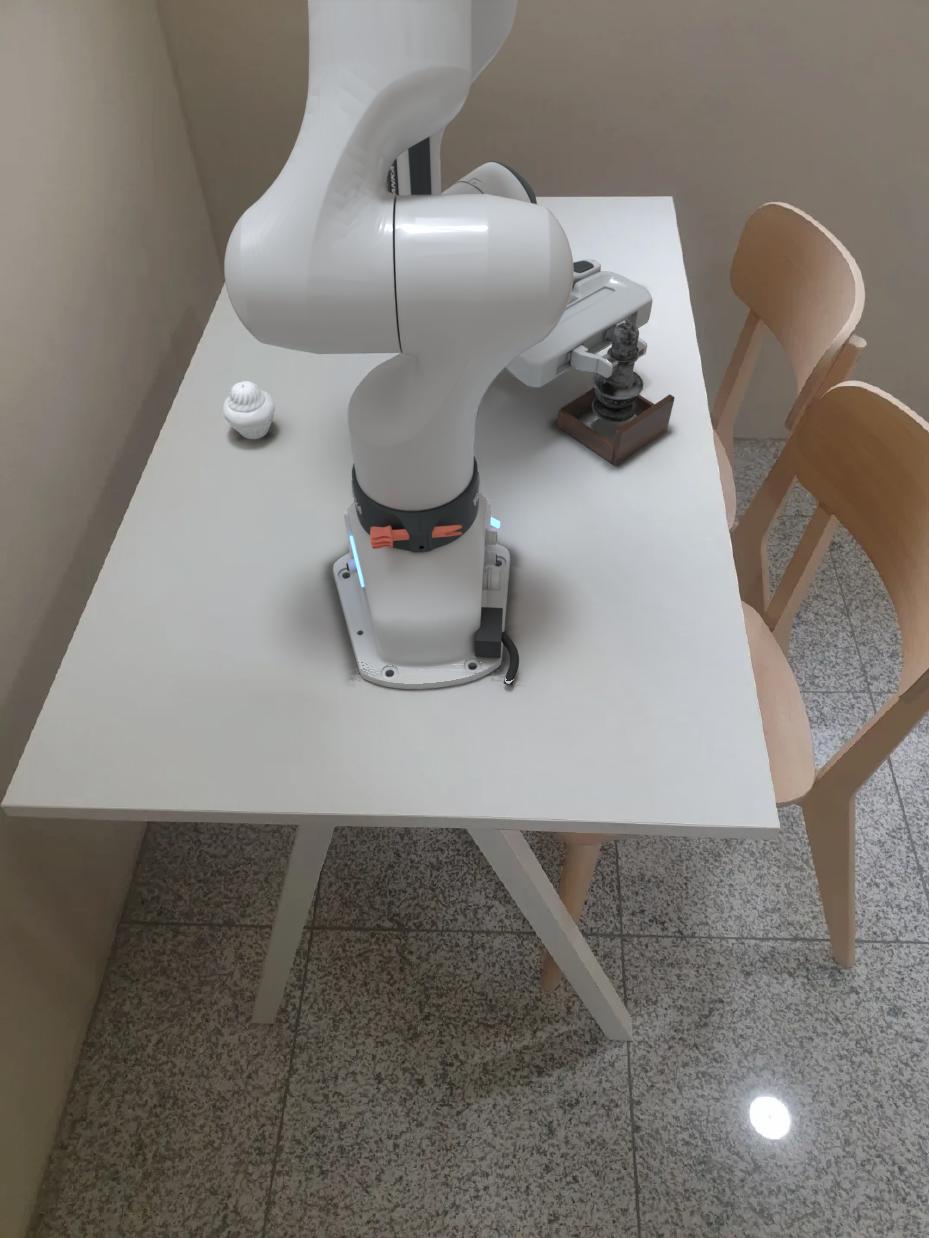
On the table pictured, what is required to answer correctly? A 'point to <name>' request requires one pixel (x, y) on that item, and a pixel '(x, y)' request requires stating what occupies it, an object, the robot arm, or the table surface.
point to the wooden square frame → (628, 436)
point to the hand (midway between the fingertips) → (628, 361)
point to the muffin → (249, 410)
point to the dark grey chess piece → (619, 378)
